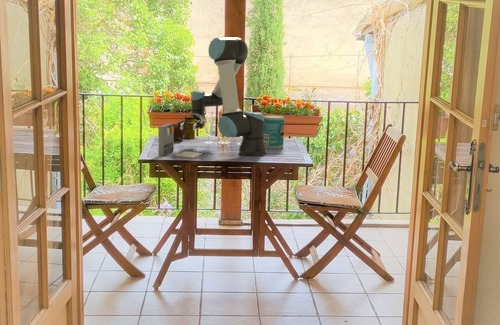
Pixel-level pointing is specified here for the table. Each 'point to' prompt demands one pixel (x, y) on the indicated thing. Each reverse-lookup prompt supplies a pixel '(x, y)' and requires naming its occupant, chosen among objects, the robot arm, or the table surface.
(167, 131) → the breaker box
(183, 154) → the tile
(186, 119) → the condiment
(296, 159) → the table surface
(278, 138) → the food can
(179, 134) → the muffin
